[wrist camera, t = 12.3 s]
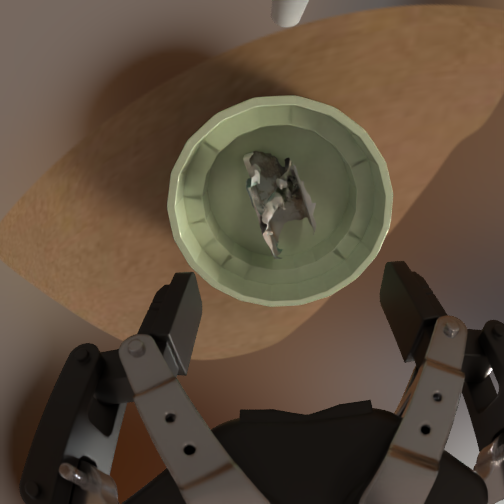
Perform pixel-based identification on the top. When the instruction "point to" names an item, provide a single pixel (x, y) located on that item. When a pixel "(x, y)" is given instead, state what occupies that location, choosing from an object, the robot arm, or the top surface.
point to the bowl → (293, 232)
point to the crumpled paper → (276, 195)
